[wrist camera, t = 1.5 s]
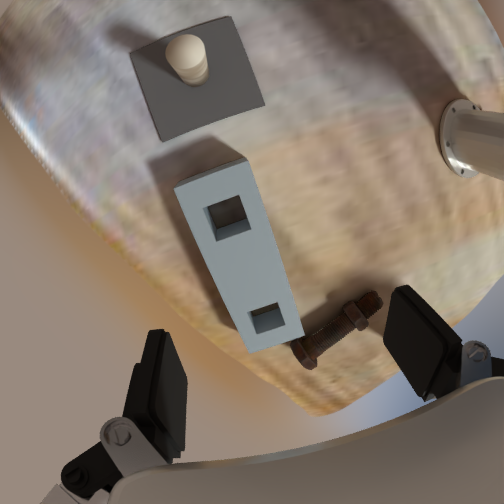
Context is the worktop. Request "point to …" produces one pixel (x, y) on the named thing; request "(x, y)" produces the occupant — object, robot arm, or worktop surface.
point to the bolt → (336, 329)
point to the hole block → (242, 255)
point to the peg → (188, 59)
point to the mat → (203, 97)
